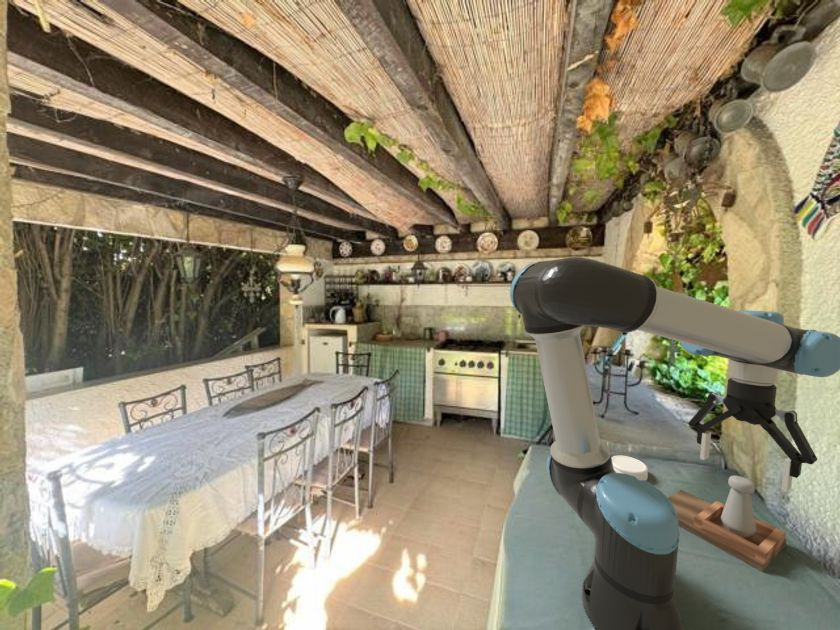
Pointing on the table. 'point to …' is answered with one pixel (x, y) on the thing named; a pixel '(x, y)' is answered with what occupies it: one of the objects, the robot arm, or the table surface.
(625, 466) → the white round container
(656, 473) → the table surface
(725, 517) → the salt shaker
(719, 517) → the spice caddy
